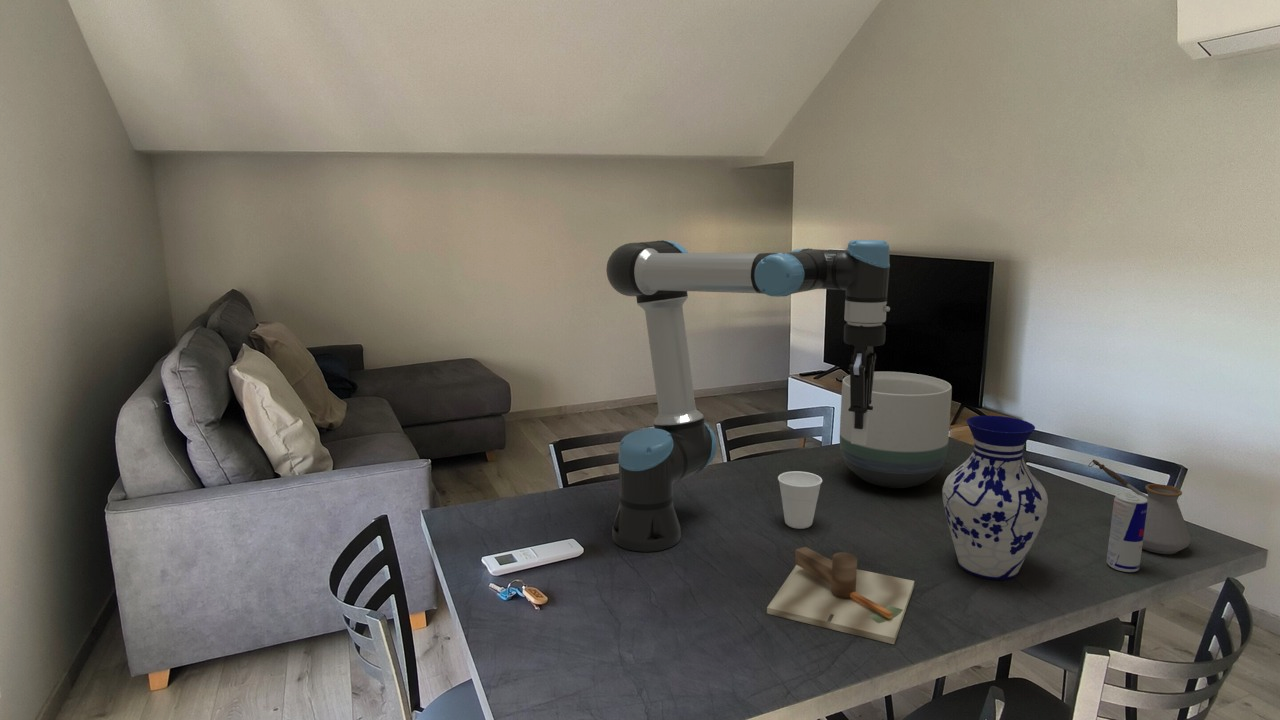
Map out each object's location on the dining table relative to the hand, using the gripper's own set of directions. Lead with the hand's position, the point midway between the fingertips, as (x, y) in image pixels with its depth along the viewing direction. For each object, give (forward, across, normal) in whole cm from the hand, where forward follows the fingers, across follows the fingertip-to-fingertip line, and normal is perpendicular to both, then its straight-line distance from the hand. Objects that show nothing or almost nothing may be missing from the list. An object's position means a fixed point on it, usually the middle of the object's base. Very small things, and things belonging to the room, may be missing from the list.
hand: (859, 443), depth 148 cm
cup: (+27, +17, +16) cm, 35 cm away
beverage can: (+27, +25, -48) cm, 60 cm away
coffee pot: (+27, +42, -51) cm, 71 cm away
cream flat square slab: (+26, -13, -1) cm, 29 cm away
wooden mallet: (+25, -13, -1) cm, 28 cm away
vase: (+27, +13, -24) cm, 38 cm away
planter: (+27, +54, +2) cm, 60 cm away
